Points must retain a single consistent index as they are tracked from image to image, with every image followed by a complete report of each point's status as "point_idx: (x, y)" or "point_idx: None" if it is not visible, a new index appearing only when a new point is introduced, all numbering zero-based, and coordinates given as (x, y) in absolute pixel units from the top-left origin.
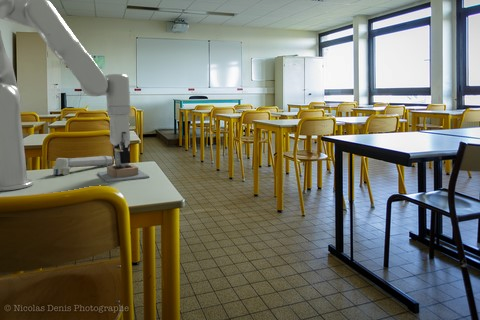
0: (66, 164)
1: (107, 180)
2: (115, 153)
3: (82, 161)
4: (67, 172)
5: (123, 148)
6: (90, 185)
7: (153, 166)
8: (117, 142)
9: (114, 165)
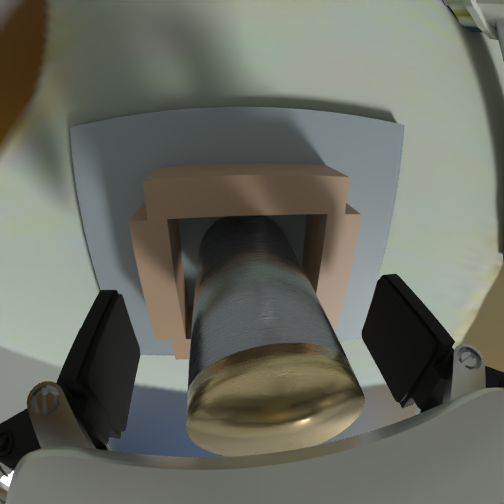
0: (488, 2)
1: (74, 132)
2: (247, 332)
3: None
4: (454, 5)
5: (17, 421)
6: (57, 38)
7: (369, 383)
8: (14, 482)
9: (355, 243)
